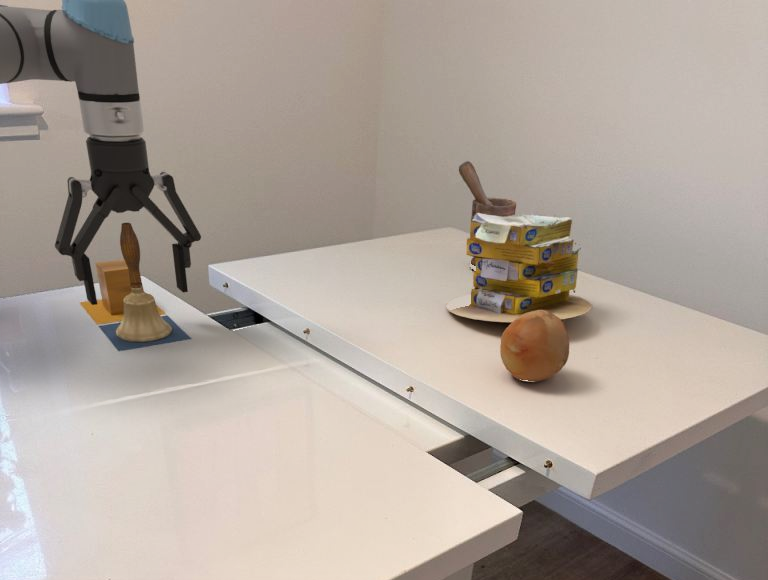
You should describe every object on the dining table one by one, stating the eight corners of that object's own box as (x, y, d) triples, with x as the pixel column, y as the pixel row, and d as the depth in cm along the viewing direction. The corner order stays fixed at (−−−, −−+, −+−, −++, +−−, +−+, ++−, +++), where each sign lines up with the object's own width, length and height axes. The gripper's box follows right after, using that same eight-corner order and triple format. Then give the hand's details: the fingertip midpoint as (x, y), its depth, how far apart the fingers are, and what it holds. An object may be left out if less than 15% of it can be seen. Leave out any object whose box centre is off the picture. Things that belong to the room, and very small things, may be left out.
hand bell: (120, 345, 106) (101, 232, 97) (112, 325, 112) (93, 218, 103) (177, 338, 109) (163, 229, 100) (166, 319, 115) (153, 215, 106)
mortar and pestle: (461, 277, 143) (473, 167, 131) (445, 264, 149) (455, 158, 138) (513, 274, 146) (530, 167, 134) (495, 261, 153) (509, 158, 141)
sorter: (79, 305, 120) (79, 302, 119) (145, 296, 125) (144, 293, 124) (119, 354, 104) (118, 351, 104) (191, 341, 110) (191, 338, 109)
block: (102, 305, 119) (95, 262, 115) (133, 301, 121) (126, 259, 117) (111, 315, 115) (103, 271, 111) (142, 310, 118) (136, 267, 114)
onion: (503, 359, 110) (513, 295, 104) (568, 372, 107) (582, 307, 101) (487, 384, 102) (497, 316, 97) (556, 398, 100) (571, 329, 94)
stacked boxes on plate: (419, 301, 130) (427, 203, 120) (526, 285, 140) (541, 194, 131) (503, 352, 113) (520, 242, 103) (617, 329, 123) (642, 228, 114)
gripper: (19, 144, 86) (57, 316, 99) (215, 137, 98) (226, 292, 110) (8, 134, 91) (45, 299, 104) (195, 129, 103) (208, 277, 115)
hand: (138, 295), depth 107 cm, fingers open, 13 cm apart
